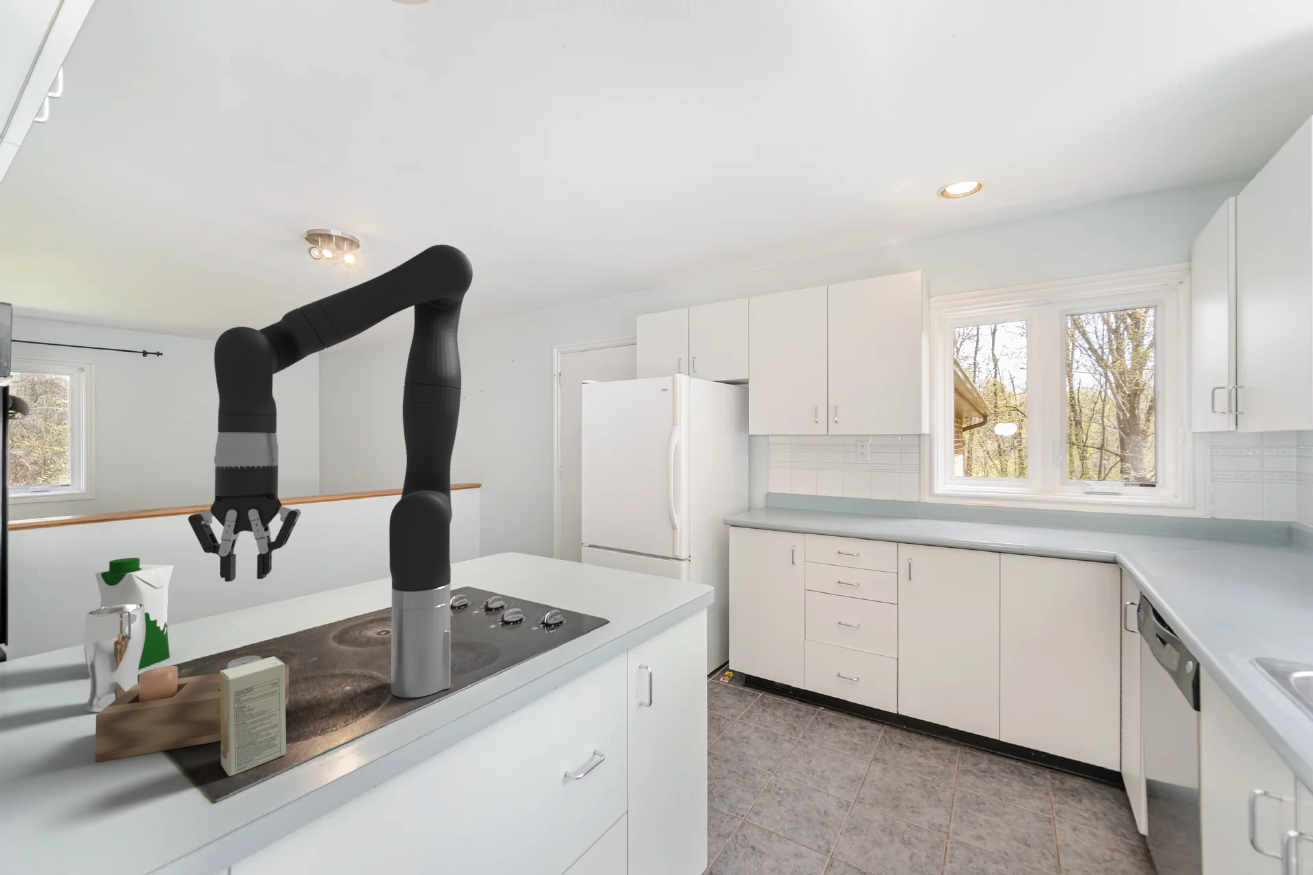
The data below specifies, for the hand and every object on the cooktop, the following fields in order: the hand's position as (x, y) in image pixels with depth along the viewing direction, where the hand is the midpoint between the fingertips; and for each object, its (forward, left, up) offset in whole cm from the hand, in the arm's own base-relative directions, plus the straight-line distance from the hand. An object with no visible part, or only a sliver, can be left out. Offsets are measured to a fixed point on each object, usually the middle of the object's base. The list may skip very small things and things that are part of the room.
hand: (245, 578), depth 80 cm
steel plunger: (0, 0, -17) cm, 17 cm away
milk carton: (+26, -34, -21) cm, 48 cm away
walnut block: (+5, 0, -21) cm, 22 cm away
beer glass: (+21, -15, -21) cm, 33 cm away
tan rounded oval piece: (+10, 0, -17) cm, 20 cm away
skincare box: (-4, +12, -21) cm, 25 cm away
